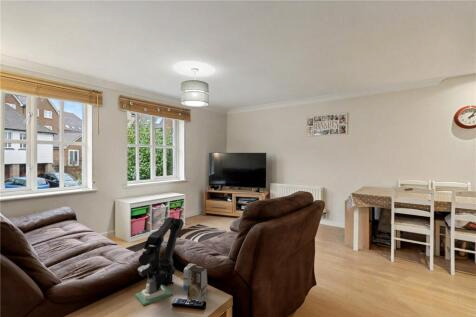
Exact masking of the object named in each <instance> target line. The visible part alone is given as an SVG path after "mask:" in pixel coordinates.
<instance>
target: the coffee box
mask: <svg viewBox="0 0 476 317" xmlns="http://www.w3.org/2000/svg"><path fill="white" fill-rule="evenodd" d="M208 270H209V269H208V267H206V266H202V265H197V264H196V265H193V266H191V267H190V268H189V269H188V290H186V291H187V296H186V298H187V300H190V299H193V300H198V301H203V302H204V301H205V300H206V299H207V298H208ZM193 300H192V301H193Z"/></svg>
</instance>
